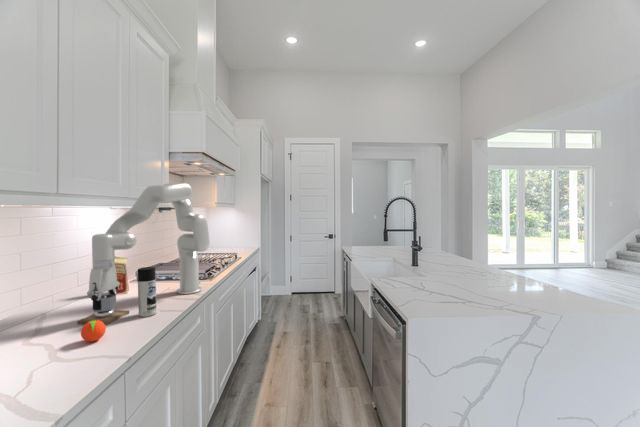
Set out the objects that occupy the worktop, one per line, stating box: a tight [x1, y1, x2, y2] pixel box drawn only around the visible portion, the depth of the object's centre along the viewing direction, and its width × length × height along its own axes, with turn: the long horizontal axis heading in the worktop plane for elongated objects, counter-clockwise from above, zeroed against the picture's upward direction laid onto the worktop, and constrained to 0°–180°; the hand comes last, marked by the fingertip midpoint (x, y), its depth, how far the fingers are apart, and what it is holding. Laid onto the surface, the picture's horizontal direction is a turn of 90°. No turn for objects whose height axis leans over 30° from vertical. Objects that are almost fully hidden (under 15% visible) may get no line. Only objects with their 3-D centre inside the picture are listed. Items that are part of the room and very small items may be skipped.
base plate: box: [76, 309, 130, 326], centre depth 127 cm, size 13×12×1 cm
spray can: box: [137, 266, 157, 318], centre depth 131 cm, size 7×7×20 cm
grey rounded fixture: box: [94, 298, 115, 318], centre depth 127 cm, size 7×7×7 cm
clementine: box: [80, 320, 107, 343], centre depth 105 cm, size 8×7×7 cm
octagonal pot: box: [93, 293, 117, 313], centre depth 127 cm, size 7×7×5 cm
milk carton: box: [115, 256, 130, 296], centre depth 166 cm, size 9×9×20 cm
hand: (104, 306), depth 127 cm, fingers closed on octagonal pot, 7 cm apart
